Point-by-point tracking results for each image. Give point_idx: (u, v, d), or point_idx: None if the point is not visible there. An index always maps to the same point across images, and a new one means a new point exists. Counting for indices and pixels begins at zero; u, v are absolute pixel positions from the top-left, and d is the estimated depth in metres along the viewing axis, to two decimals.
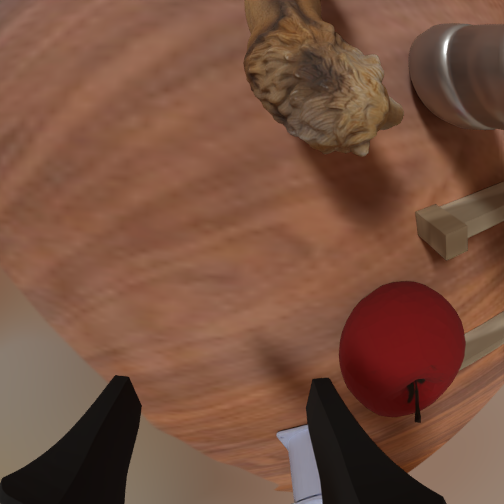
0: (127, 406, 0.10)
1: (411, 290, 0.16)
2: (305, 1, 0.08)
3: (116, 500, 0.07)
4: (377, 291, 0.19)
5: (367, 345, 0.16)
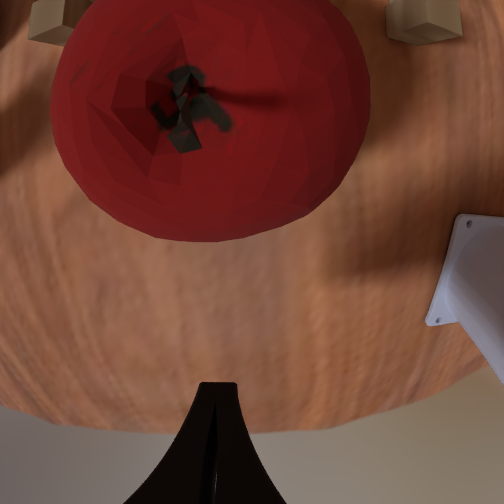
0: None
1: None
2: None
3: None
4: None
5: None
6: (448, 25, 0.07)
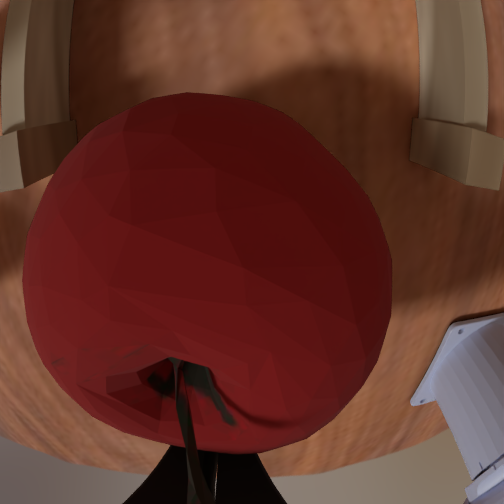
0: None
1: None
2: None
3: None
4: None
5: None
6: (487, 181, 0.07)
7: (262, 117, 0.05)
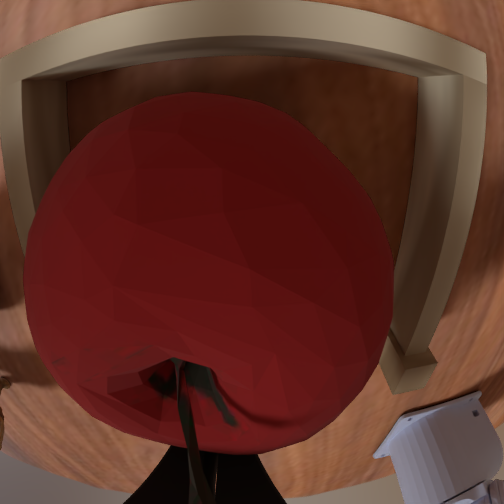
0: None
1: None
2: None
3: None
4: None
5: None
6: (413, 387, 0.11)
7: (268, 118, 0.05)
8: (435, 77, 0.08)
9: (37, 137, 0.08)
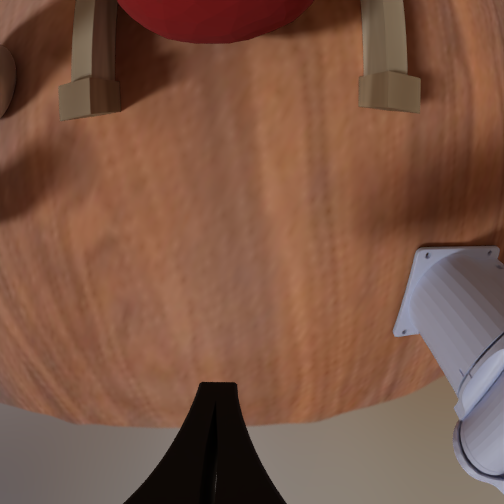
0: None
1: None
2: None
3: None
4: None
5: (122, 5, 0.08)
6: (407, 106, 0.11)
7: None
8: None
9: None
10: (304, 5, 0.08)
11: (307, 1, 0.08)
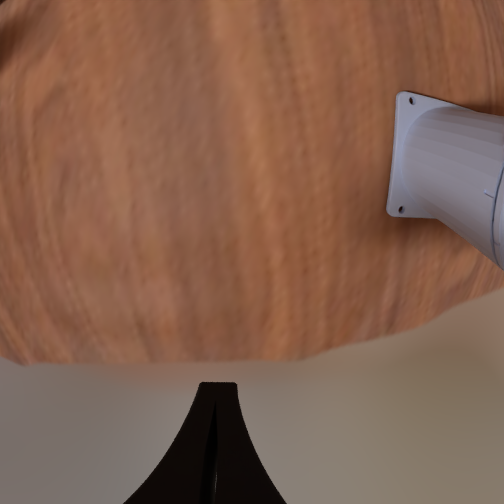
0: None
1: None
2: None
3: None
4: None
5: None
6: None
7: None
8: None
9: None
10: None
11: None
